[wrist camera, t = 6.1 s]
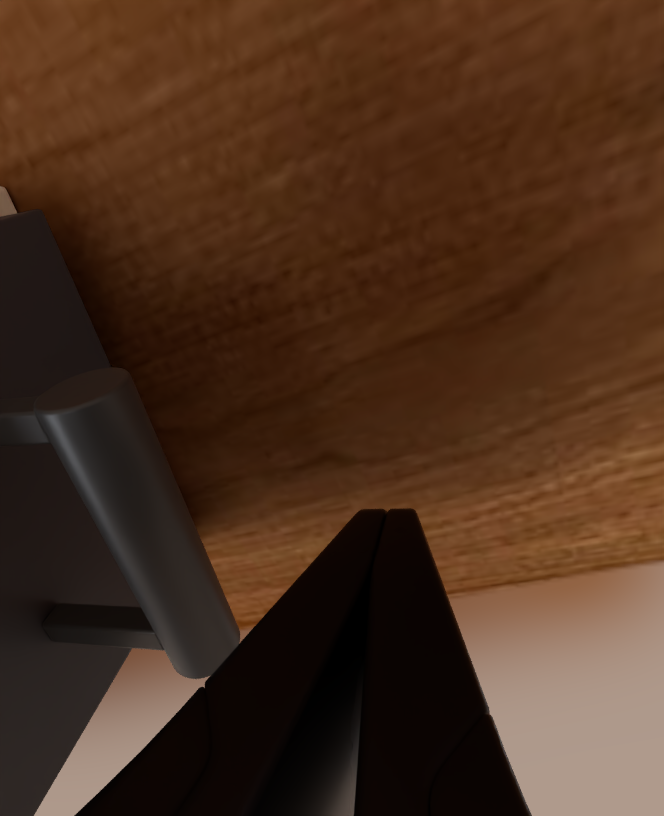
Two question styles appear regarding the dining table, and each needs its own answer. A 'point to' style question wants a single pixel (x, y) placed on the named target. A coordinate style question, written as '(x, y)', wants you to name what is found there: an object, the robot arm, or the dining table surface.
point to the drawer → (81, 525)
